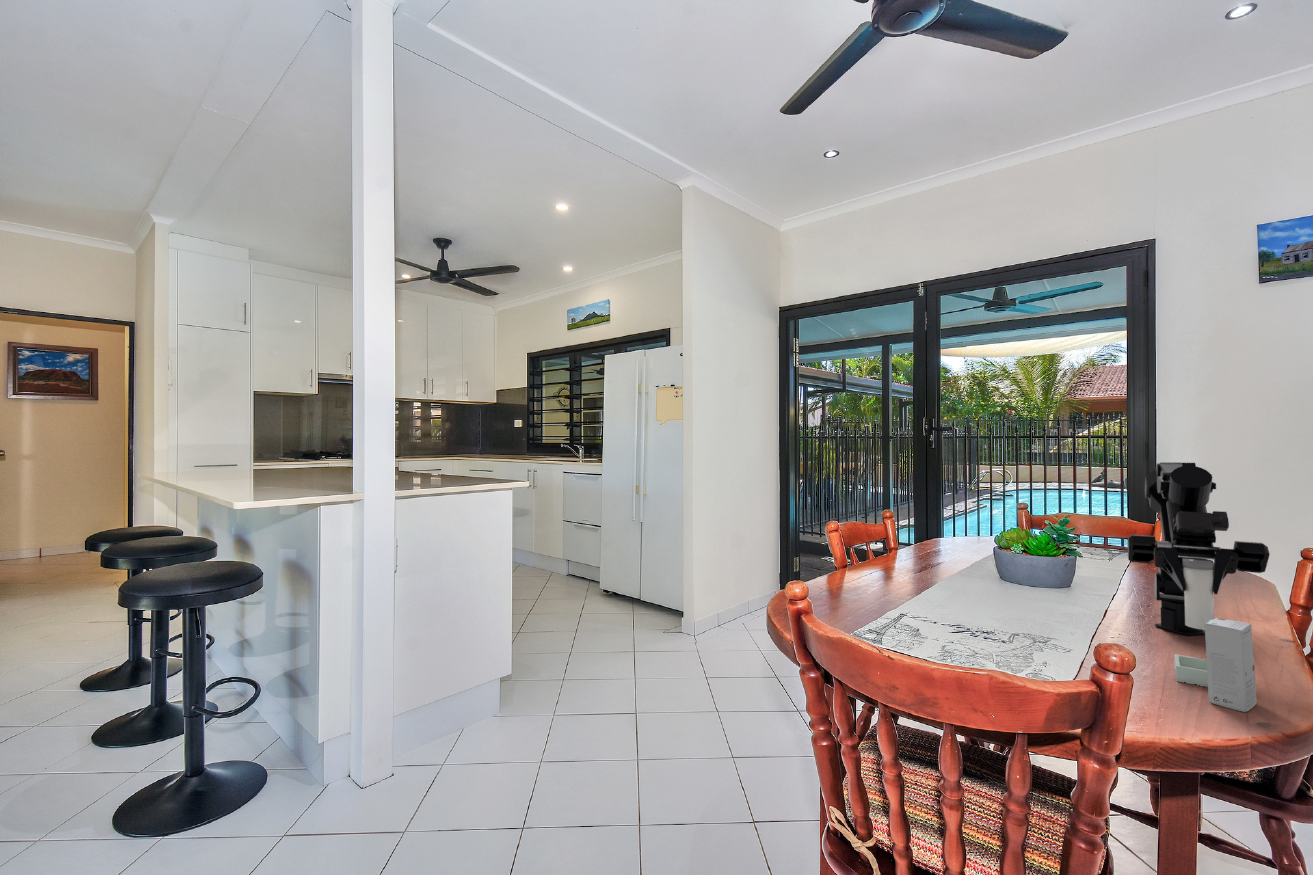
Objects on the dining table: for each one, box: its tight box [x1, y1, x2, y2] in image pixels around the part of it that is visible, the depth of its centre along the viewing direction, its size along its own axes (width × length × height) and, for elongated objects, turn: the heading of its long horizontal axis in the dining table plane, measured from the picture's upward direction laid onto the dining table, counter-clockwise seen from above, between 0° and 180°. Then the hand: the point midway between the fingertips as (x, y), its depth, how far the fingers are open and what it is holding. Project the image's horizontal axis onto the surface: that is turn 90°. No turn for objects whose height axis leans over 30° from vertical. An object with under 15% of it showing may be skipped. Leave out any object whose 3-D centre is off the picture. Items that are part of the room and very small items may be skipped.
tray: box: [1174, 653, 1208, 688], centre depth 95 cm, size 7×7×2 cm
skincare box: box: [1204, 617, 1257, 713], centre depth 86 cm, size 6×4×12 cm
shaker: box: [1183, 558, 1215, 630], centre depth 101 cm, size 4×4×12 cm
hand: (1199, 591), depth 100 cm, fingers closed on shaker, 4 cm apart
